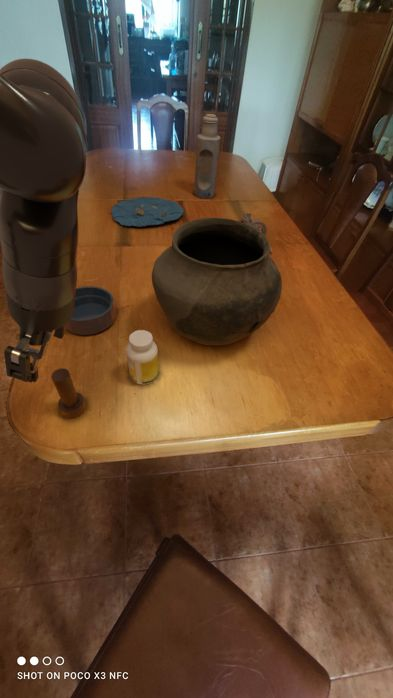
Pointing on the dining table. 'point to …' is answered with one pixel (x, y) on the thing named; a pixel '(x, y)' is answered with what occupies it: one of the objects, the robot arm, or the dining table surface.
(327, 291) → the dining table surface
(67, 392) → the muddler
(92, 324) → the bowl
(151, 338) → the pill bottle
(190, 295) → the pot
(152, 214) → the decorative plate
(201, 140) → the bottle
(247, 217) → the spaceship
